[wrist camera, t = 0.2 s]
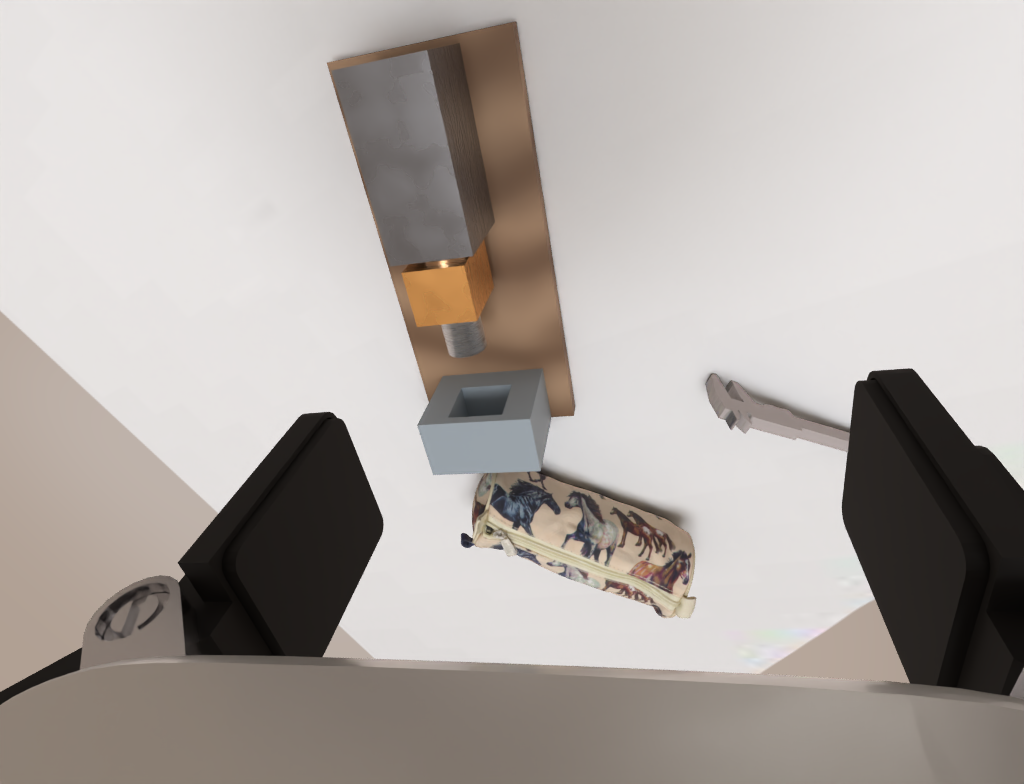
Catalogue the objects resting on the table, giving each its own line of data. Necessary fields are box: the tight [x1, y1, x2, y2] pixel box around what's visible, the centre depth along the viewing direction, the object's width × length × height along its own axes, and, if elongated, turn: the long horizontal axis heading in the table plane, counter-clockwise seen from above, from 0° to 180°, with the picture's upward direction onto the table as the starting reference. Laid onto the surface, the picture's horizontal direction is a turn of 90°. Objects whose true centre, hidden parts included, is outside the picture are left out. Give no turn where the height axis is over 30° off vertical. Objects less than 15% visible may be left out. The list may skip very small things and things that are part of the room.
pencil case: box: [461, 471, 696, 618], centre depth 56 cm, size 22×8×10 cm, turn 71°
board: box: [327, 22, 575, 417], centre depth 47 cm, size 30×13×2 cm, turn 10°
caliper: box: [706, 374, 850, 452], centre depth 48 cm, size 21×1×6 cm, turn 71°
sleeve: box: [331, 43, 495, 267], centre depth 39 cm, size 12×6×7 cm, turn 10°
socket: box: [417, 368, 551, 475], centre depth 50 cm, size 5×9×8 cm, turn 100°
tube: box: [401, 240, 494, 358], centre depth 41 cm, size 18×4×6 cm, turn 10°
